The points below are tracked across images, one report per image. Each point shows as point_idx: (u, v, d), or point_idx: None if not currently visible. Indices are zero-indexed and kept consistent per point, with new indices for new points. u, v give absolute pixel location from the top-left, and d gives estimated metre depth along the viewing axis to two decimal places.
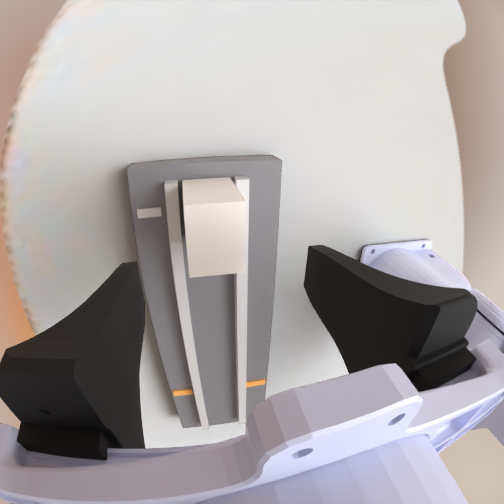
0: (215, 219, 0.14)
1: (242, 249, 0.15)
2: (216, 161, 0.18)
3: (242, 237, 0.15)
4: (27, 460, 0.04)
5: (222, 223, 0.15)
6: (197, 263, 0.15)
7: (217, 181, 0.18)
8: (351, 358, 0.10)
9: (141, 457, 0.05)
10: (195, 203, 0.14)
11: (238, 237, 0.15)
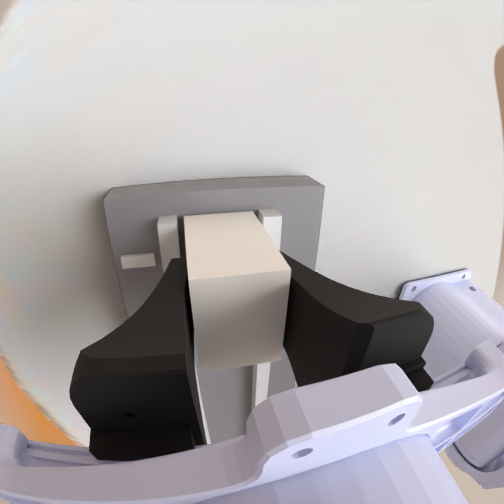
0: (241, 298, 0.09)
1: (279, 334, 0.10)
2: (233, 187, 0.13)
3: (281, 319, 0.10)
4: (27, 460, 0.04)
5: (252, 303, 0.09)
6: (212, 355, 0.10)
7: (236, 220, 0.12)
8: (298, 371, 0.09)
9: None
10: (208, 276, 0.08)
11: (275, 320, 0.10)
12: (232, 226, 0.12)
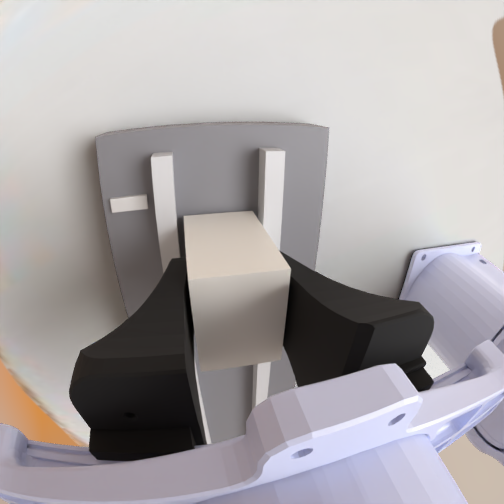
0: (240, 298, 0.09)
1: (279, 334, 0.10)
2: None
3: (281, 319, 0.10)
4: (27, 460, 0.04)
5: (252, 302, 0.09)
6: (212, 355, 0.10)
7: (236, 220, 0.12)
8: (298, 371, 0.09)
9: None
10: (207, 276, 0.08)
11: (275, 319, 0.10)
12: (232, 226, 0.12)
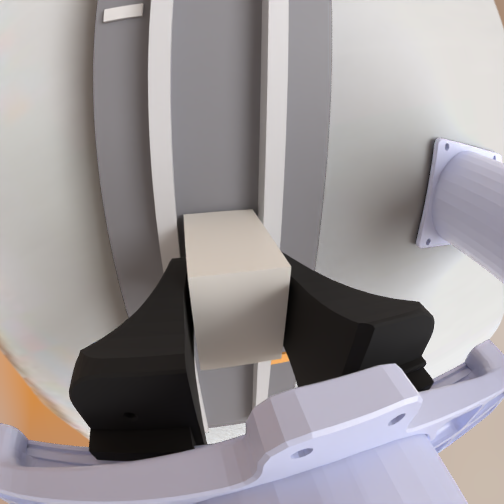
0: (240, 296, 0.09)
1: (280, 332, 0.10)
2: None
3: (281, 317, 0.10)
4: (27, 460, 0.04)
5: (252, 301, 0.09)
6: (212, 354, 0.10)
7: (236, 218, 0.12)
8: (298, 371, 0.09)
9: None
10: (207, 274, 0.08)
11: (275, 318, 0.10)
12: (232, 224, 0.12)
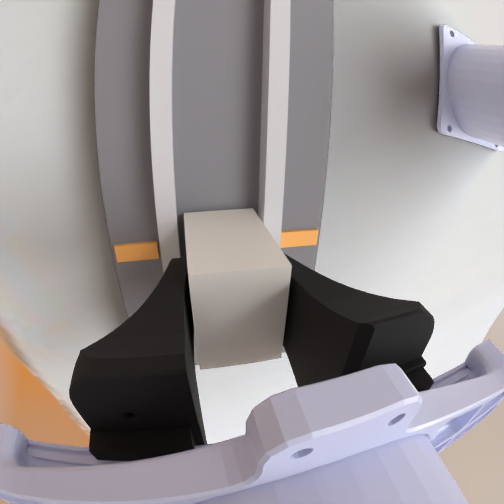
0: (241, 294, 0.09)
1: (280, 331, 0.10)
2: None
3: (281, 316, 0.10)
4: (27, 460, 0.04)
5: (252, 299, 0.09)
6: (212, 352, 0.10)
7: (236, 217, 0.12)
8: (298, 371, 0.09)
9: None
10: (208, 272, 0.08)
11: (275, 316, 0.10)
12: (232, 223, 0.11)
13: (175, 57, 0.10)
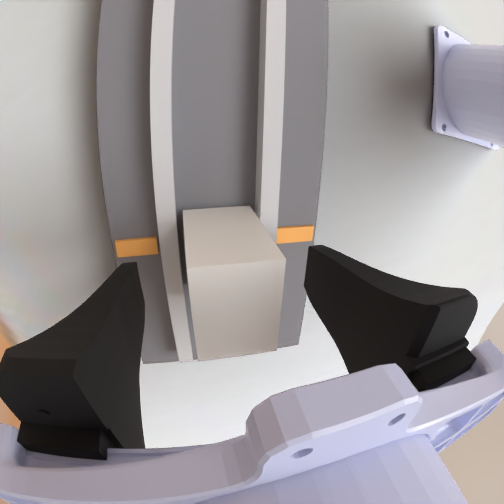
0: (237, 287, 0.09)
1: (275, 323, 0.10)
2: None
3: (276, 308, 0.10)
4: (27, 460, 0.04)
5: (248, 291, 0.09)
6: (209, 344, 0.10)
7: (233, 214, 0.12)
8: (351, 358, 0.10)
9: (141, 457, 0.05)
10: (205, 265, 0.09)
11: (271, 309, 0.10)
12: (229, 219, 0.12)
13: (174, 58, 0.10)
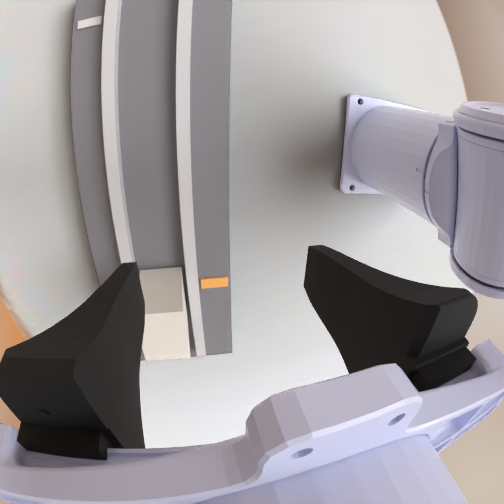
0: (159, 324, 0.17)
1: (185, 343, 0.18)
2: None
3: (184, 335, 0.17)
4: (27, 460, 0.04)
5: (165, 326, 0.17)
6: (150, 352, 0.18)
7: (168, 275, 0.20)
8: (351, 358, 0.10)
9: (141, 457, 0.05)
10: None
11: (180, 335, 0.17)
12: (164, 279, 0.19)
13: (124, 178, 0.17)
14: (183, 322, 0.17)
